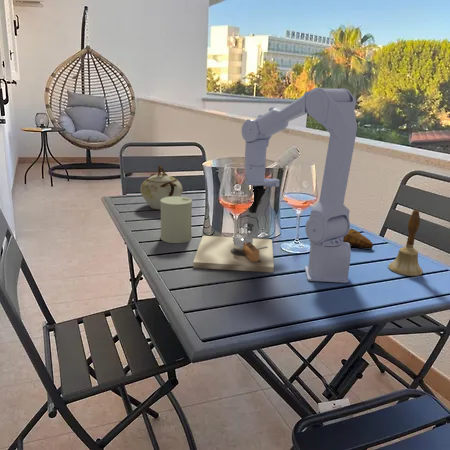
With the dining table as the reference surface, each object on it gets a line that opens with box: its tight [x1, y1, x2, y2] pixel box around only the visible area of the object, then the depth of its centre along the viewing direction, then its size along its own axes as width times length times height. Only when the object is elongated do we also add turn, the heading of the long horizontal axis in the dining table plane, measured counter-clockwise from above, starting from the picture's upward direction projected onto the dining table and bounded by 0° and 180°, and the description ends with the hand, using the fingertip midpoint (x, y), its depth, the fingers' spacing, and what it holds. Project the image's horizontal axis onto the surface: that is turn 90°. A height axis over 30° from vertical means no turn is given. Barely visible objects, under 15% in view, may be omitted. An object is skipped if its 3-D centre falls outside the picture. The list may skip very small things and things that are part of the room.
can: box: [160, 195, 193, 244], centre depth 131 cm, size 9×9×12 cm
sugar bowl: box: [140, 165, 183, 211], centre depth 162 cm, size 20×15×15 cm
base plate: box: [192, 235, 275, 273], centre depth 122 cm, size 20×20×2 cm
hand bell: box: [388, 209, 423, 277], centre depth 114 cm, size 8×8×16 cm
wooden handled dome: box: [233, 235, 259, 262], centre depth 117 cm, size 11×5×3 cm, turn 19°
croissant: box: [342, 228, 374, 250], centre depth 133 cm, size 14×7×5 cm, turn 49°
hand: (252, 212), depth 128 cm, fingers closed
